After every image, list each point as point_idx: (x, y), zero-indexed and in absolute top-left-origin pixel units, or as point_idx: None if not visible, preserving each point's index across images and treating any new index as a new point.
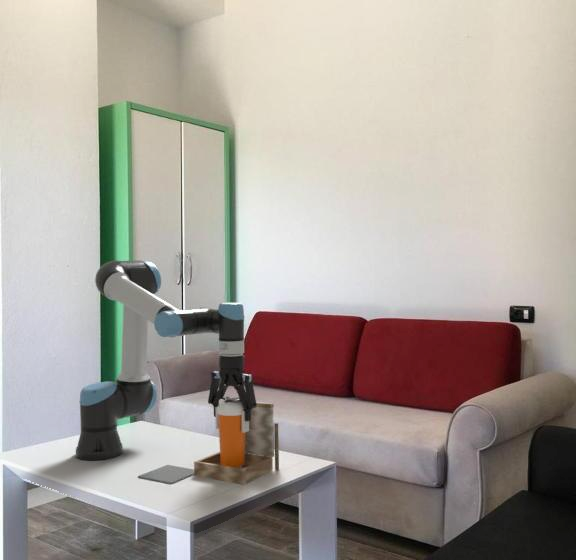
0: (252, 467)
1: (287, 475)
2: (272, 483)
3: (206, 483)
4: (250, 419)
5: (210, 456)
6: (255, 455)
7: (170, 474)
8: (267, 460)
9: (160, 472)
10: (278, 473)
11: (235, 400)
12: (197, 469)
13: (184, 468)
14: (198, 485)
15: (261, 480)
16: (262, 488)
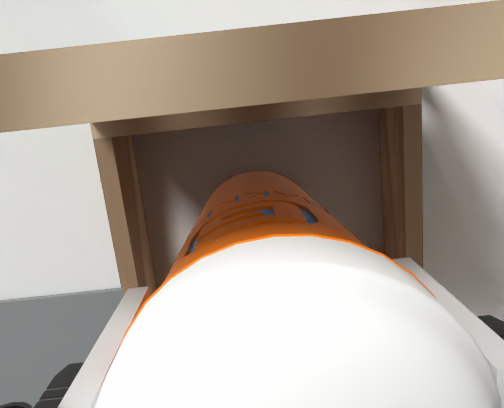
0: (421, 267)
1: (495, 109)
2: (492, 232)
3: None
4: (500, 324)
5: (130, 260)
6: (317, 111)
7: None
8: (419, 135)
9: (22, 393)
10: (443, 109)
11: (18, 123)
12: None
13: (53, 305)
14: None
15: (431, 228)
16: (489, 298)
